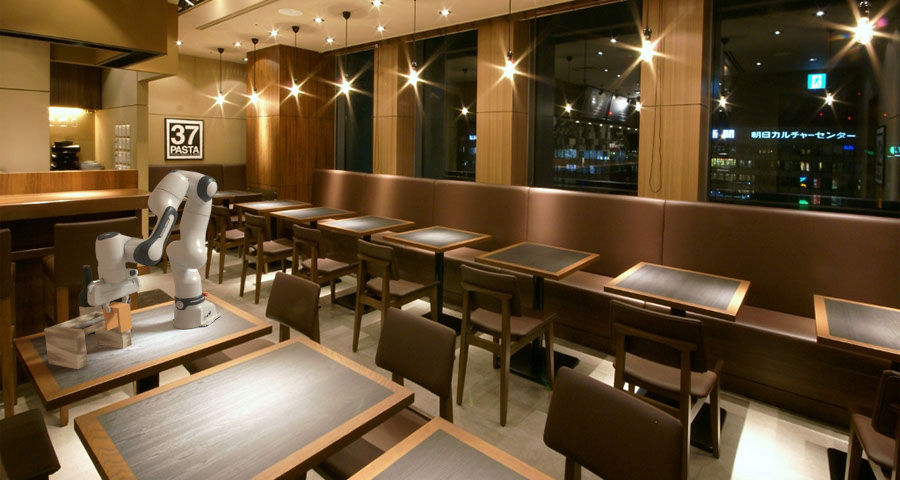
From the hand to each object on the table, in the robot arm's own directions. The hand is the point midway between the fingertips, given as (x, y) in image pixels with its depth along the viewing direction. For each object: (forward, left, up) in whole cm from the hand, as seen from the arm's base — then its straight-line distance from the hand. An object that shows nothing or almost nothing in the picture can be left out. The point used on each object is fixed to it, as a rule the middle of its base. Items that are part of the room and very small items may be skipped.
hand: (116, 309), depth 196 cm
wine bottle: (-18, -34, -21) cm, 44 cm away
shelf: (0, -14, -21) cm, 25 cm away
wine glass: (-22, -22, -21) cm, 37 cm away
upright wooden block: (0, 0, -8) cm, 8 cm away
